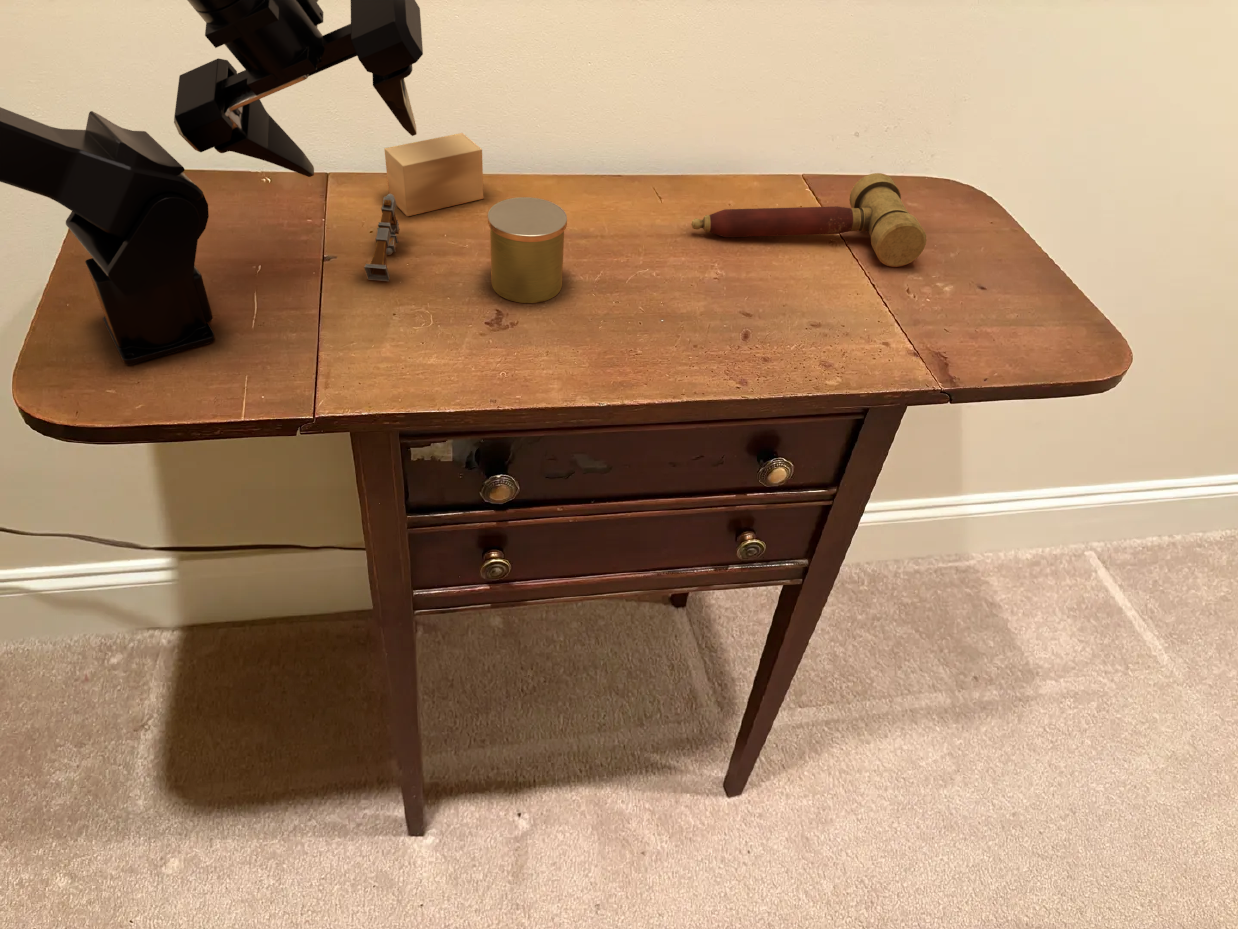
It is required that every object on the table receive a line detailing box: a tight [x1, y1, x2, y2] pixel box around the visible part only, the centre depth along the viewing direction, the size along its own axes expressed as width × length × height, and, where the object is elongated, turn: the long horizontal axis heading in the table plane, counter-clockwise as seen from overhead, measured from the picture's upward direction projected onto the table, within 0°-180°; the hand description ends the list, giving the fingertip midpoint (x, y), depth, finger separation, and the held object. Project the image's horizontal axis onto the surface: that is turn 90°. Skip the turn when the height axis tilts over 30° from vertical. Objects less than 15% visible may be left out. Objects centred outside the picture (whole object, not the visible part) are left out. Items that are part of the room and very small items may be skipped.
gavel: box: [690, 172, 927, 268], centre depth 87 cm, size 21×5×10 cm
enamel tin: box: [487, 196, 568, 304], centre depth 76 cm, size 6×6×6 cm
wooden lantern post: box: [363, 193, 400, 282], centre depth 79 cm, size 2×8×4 cm, turn 179°
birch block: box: [383, 132, 484, 217], centre depth 87 cm, size 8×4×5 cm, turn 125°
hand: (362, 152), depth 72 cm, fingers open, 9 cm apart
